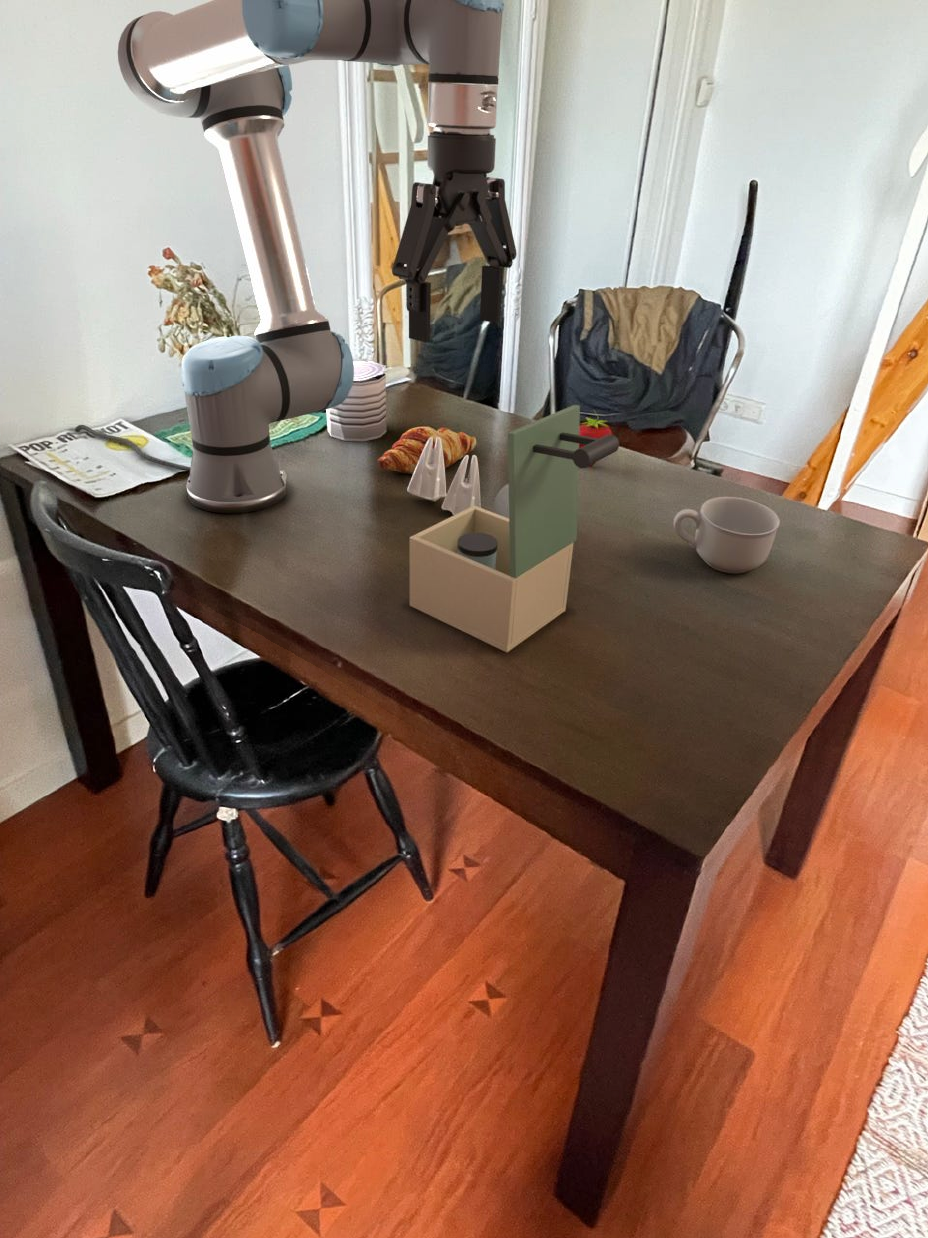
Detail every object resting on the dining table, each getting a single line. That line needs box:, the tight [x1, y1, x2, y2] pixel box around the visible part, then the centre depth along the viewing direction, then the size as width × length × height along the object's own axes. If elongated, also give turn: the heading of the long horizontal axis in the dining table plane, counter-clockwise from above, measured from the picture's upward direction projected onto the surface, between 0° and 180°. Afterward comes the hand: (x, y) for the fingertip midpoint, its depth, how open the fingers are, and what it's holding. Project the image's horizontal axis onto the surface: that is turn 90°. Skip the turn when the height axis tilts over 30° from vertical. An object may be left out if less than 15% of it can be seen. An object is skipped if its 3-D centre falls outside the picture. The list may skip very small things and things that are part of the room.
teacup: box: [672, 496, 781, 574], centre depth 117 cm, size 14×11×8 cm
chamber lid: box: [507, 404, 620, 578], centre depth 90 cm, size 16×13×8 cm
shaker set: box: [407, 437, 482, 516], centre depth 128 cm, size 12×4×11 cm, turn 57°
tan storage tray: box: [409, 506, 575, 653], centre depth 103 cm, size 16×13×10 cm
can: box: [325, 360, 387, 442], centre depth 155 cm, size 11×11×12 cm
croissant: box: [377, 426, 477, 475], centre depth 144 cm, size 21×10×8 cm, turn 131°
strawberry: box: [579, 410, 613, 467], centre depth 145 cm, size 6×8×10 cm
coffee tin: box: [457, 533, 498, 570], centre depth 104 cm, size 5×5×8 cm
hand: (456, 330), depth 102 cm, fingers open, 13 cm apart
